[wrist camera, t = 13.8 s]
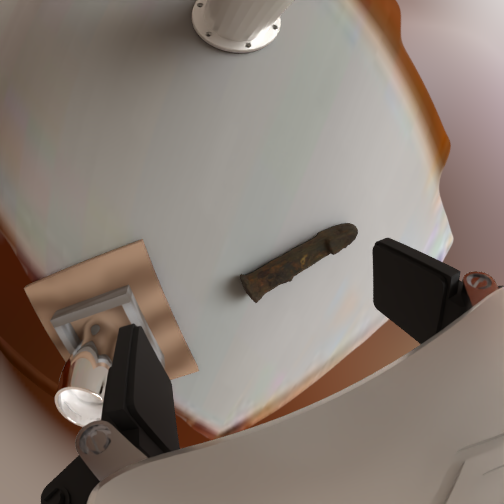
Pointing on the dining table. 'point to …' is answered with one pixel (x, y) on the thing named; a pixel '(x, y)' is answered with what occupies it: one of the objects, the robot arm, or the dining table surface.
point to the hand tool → (297, 260)
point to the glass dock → (111, 304)
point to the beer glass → (87, 373)
